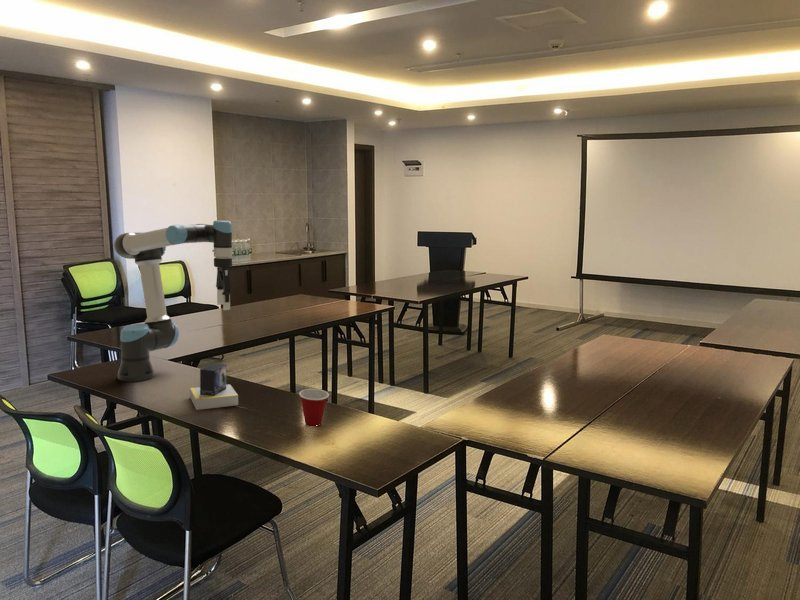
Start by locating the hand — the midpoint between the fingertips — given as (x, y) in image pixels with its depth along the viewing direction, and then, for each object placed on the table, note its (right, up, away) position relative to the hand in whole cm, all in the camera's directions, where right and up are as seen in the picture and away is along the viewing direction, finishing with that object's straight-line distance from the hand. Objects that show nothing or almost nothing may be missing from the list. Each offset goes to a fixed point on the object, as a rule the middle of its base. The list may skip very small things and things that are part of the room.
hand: (223, 307), depth 269 cm
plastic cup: (+44, -43, -37) cm, 72 cm away
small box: (+1, -34, -16) cm, 38 cm away
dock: (+1, -38, -16) cm, 41 cm away
